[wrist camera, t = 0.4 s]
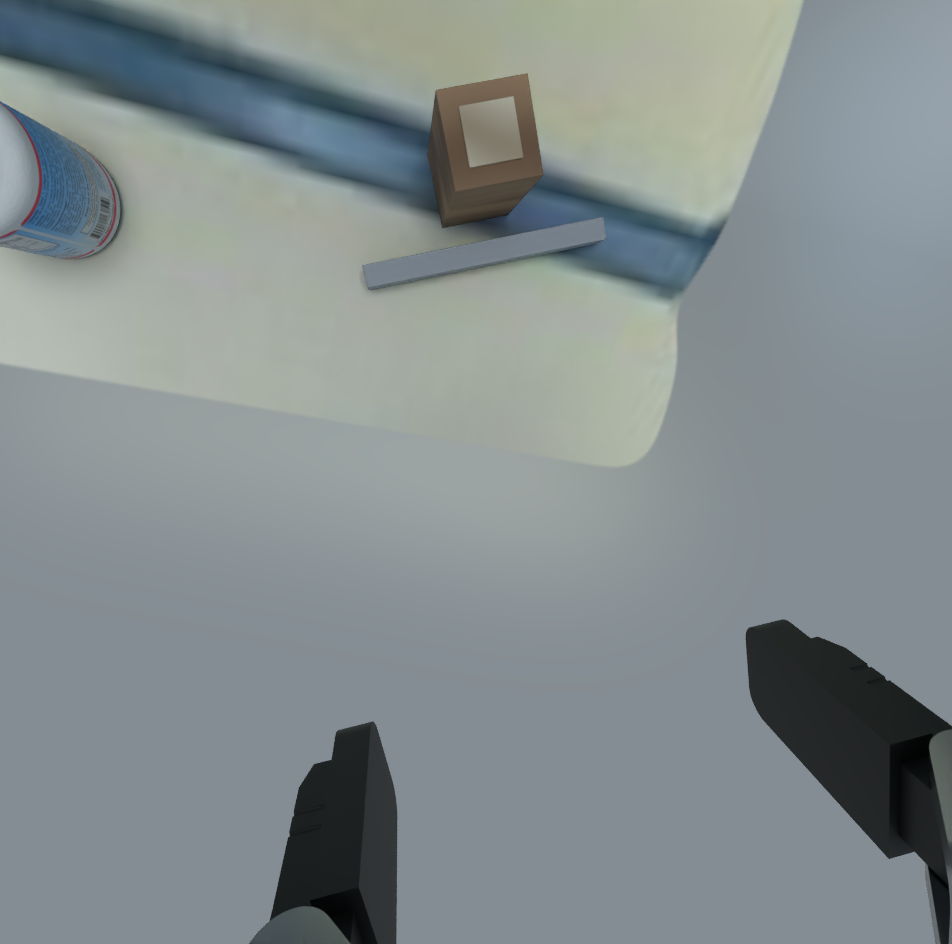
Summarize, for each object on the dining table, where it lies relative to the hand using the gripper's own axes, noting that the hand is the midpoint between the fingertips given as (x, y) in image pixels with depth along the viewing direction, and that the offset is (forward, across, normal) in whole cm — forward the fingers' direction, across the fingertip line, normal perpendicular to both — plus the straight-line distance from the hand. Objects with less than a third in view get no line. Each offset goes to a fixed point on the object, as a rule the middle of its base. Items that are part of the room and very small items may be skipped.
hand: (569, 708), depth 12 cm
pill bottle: (+27, +18, -18) cm, 37 cm away
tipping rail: (+26, -4, -11) cm, 29 cm away
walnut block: (+26, -4, -15) cm, 31 cm away
